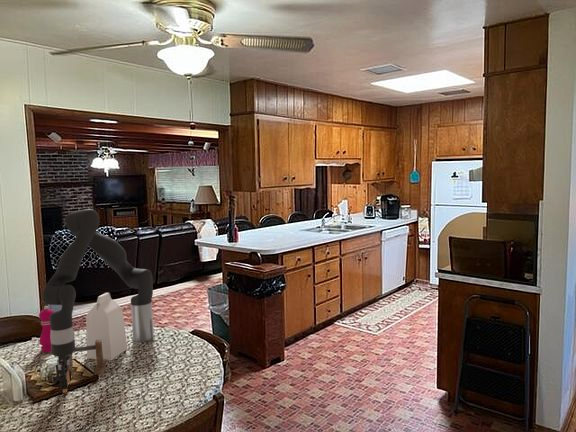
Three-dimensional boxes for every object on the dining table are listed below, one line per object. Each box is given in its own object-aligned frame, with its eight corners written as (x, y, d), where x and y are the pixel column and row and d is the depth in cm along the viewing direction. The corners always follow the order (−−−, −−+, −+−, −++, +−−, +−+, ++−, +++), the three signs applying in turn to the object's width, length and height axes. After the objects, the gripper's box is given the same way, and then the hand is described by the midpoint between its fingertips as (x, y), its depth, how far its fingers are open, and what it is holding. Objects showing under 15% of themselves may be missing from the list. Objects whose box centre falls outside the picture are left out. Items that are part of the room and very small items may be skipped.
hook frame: (106, 364, 178) (104, 335, 177) (102, 374, 168) (100, 344, 167) (63, 369, 174) (60, 340, 173) (56, 381, 164) (54, 350, 163)
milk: (111, 359, 182) (107, 299, 180) (87, 358, 184) (82, 298, 182) (127, 348, 194) (123, 291, 191) (104, 347, 196) (100, 290, 194)
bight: (70, 385, 161) (69, 365, 160) (66, 392, 155) (65, 372, 154) (66, 385, 160) (64, 366, 160) (62, 393, 155) (60, 372, 154)
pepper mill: (52, 352, 191) (49, 308, 189) (36, 353, 191) (33, 308, 190) (61, 346, 198) (58, 303, 197) (46, 346, 199) (42, 303, 197)
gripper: (69, 345, 150) (73, 392, 152) (78, 331, 164) (81, 374, 165) (45, 348, 148) (49, 396, 150) (56, 334, 162) (59, 377, 163)
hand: (66, 384), depth 157 cm, fingers closed on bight, 5 cm apart
